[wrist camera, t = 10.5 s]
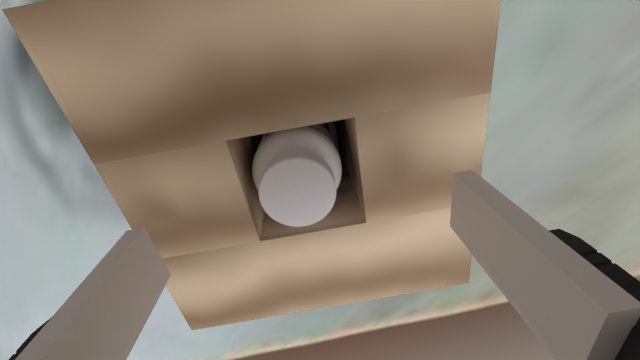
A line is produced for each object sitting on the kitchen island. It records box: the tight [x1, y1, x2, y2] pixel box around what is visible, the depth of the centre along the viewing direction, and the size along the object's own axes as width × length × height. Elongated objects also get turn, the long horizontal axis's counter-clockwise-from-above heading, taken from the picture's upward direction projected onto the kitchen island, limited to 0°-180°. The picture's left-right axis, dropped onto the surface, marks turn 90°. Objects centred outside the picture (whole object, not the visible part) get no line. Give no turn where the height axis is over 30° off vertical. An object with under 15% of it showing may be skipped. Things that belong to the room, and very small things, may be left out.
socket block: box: [3, 0, 501, 330], centre depth 20 cm, size 20×20×10 cm
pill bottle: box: [252, 123, 342, 227], centre depth 19 cm, size 6×5×10 cm
